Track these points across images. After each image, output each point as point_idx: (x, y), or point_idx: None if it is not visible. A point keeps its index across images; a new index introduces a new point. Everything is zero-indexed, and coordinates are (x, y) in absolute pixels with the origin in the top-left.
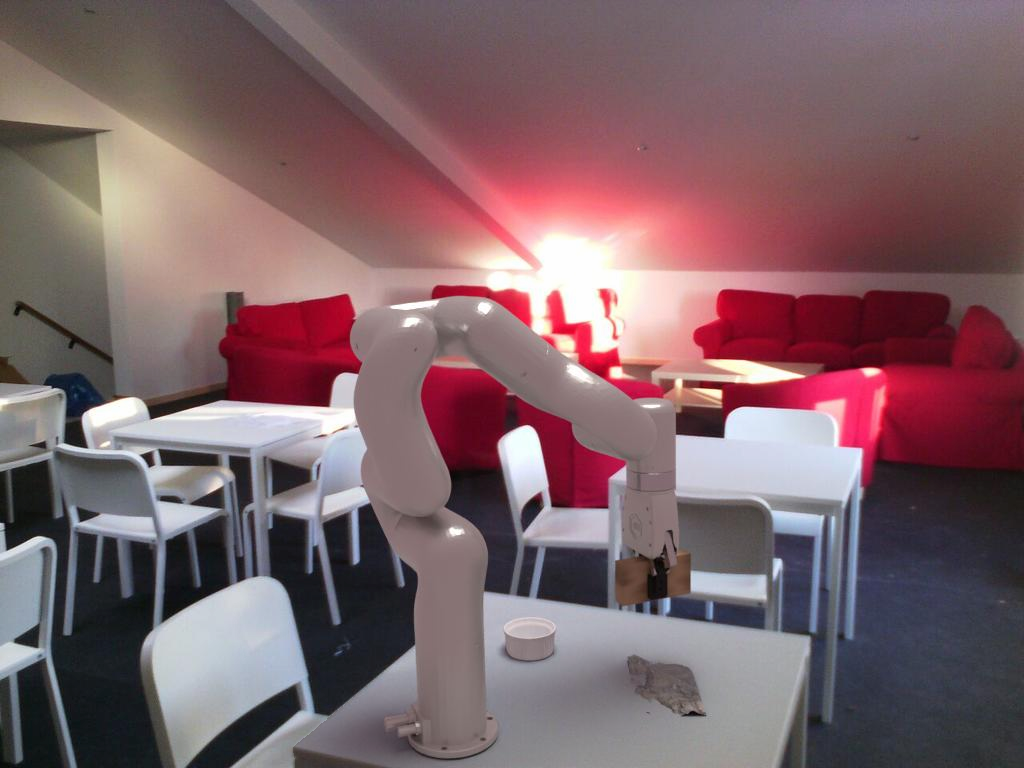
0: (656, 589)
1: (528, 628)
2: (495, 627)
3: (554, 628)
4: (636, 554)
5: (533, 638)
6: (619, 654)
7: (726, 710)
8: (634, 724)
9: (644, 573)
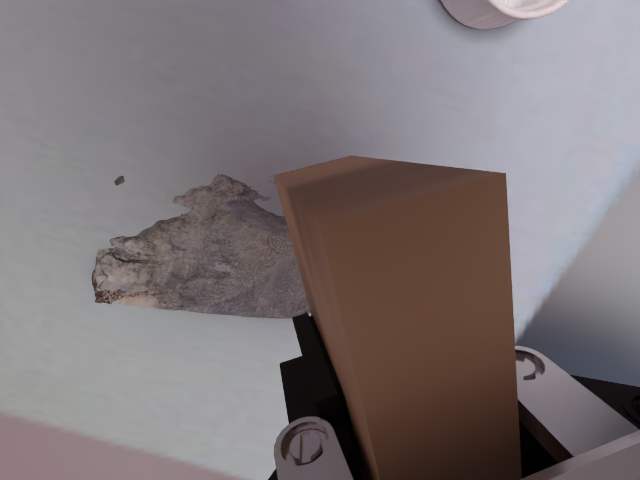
0: (282, 379)
1: None
2: None
3: (506, 7)
4: (578, 409)
5: None
6: None
7: (121, 345)
8: (58, 131)
9: (341, 380)
